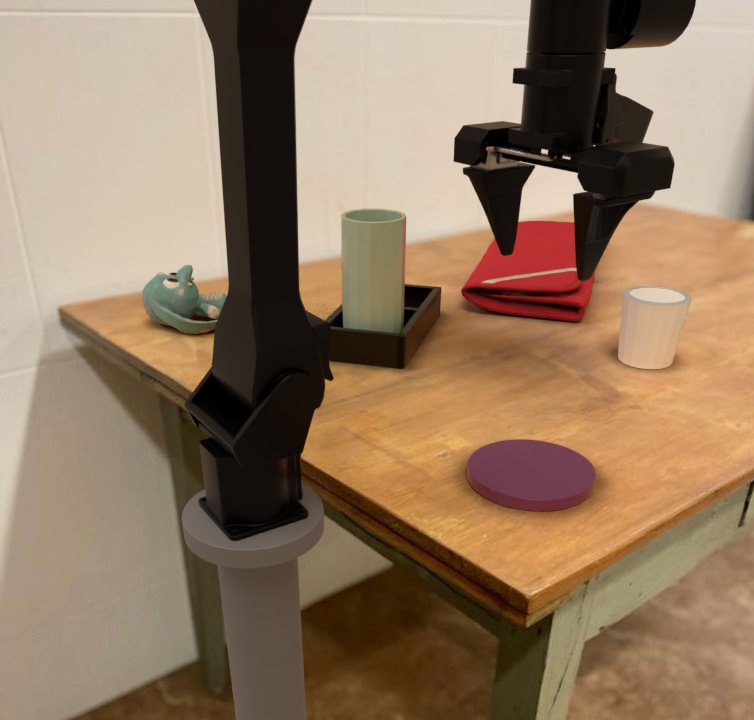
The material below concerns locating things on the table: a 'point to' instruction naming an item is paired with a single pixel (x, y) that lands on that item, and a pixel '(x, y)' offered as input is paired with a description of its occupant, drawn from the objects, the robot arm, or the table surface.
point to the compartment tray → (386, 345)
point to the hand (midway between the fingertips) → (543, 266)
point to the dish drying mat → (532, 275)
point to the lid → (531, 475)
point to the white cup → (651, 325)
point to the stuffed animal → (181, 302)
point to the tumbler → (373, 269)
